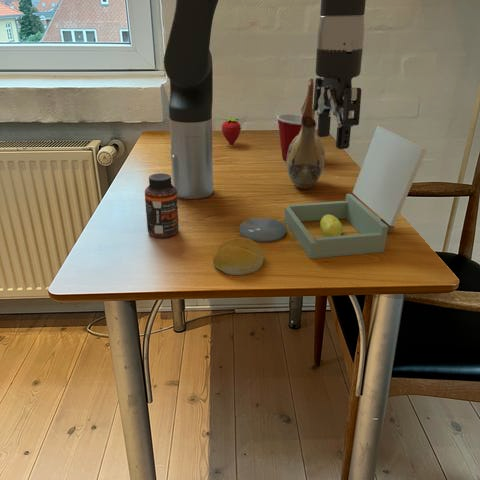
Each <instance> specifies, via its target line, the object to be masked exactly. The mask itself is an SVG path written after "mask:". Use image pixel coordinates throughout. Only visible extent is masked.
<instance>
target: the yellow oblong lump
mask: <svg viewBox="0 0 480 480" xmlns="http://www.w3.org/2000/svg"><path fill="white" fill-rule="evenodd" d="M319 226H320V231H321V232H322V233H323V237H330V236H342V233H343V231H344V226H343V224H342V222H341V220H339V219H337V218H336V217H335V216H333V215H329V214H328V215H325V216H324V217H323V218H322V219H321V220H320V225H319Z"/></svg>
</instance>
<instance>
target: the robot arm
mask: <svg viewBox="0 0 480 480" xmlns="http://www.w3.org/2000/svg"><path fill="white" fill-rule="evenodd" d="M366 1H367V0H321V1H320V12H319V23H318V29H317V37H316V40H317V41H316V54H315V55H316V57H315V58H316V59H315V75H316V76H317V77H316V78H315V81H314V91H313V109H314V111H315V112H316V116H317V117H318V118H317V133H316V136H318V137H319V138H326V137H329V136H330V134H331V133H330V132H331V120H332V119H331V117H332V116H331V115H333V116H335V119H336V123H337V127H336V136H335V137H336V138H335V148H336V149H337V150H346V149H349V147H350V144H351V143H350V141H351V130H352V127H354V126H359V125H360V116H361V114H360V113H361V101H362V88H361V87H352V86H353V85H352V84H353V83H352V80H353V78H358V77H359V76H360V74H361V69H362V60H363V49H364V39H365V11H366ZM218 4H219V0H176V1H175V8H174V10H175V11H174V14H173V20H172V23H171V28H170V30H169V31H170V33H169V36H168V41H167V43H166V46H165V47H166V48H165V52H164V56H163V67H164V72H165V74H166V76H167V78H168V79H169V85H170V86H169V87H170V88H169V90H170V95H169V102H168V103H169V104H168V116H169V117H168V118H169V133H170V134H169V135H170V161H171V163H170V165H171V166H170V167H171V176H172V177H171V184H172V185H173V186H174V187H175V188H176V190H177V198H182V199H188V200H196V199H198V200H199V199H203V198H207V197H209V196H212V194H213V193H214V170H213V169H214V167H213V166H214V165H213V164H214V163H213V162H214V161H213V158H214V157H213V156H214V155H213V103H214V102H213V101H214V100H213V99H214V98H213V95H214V94H213V91H214V90H213V88H214V87H213V81H214V79H213V78H214V77H213V74H214V73H213V57H212V52H211V50H210V45H211V43H210V42H211V36H212V26H213V22H214V14H215V12H216V8H217V6H218Z"/></svg>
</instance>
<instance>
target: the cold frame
mask: <svg viewBox="0 0 480 480" xmlns="http://www.w3.org/2000/svg"><path fill="white" fill-rule="evenodd" d="M359 200H360V199H359V198H357V197H355V195H354V194H353V193H346V195H345V200H337V201H323V202H310V203H309V202H307V203H295V204H294V203H293V204H289V206H286V207H285V206H284V215H283V216H284V217H283V221H284V223H285V224H286V226H287V228H288V230H290V232H291V234H292V235H293V236H294V238H295V239H296V241H297V242H298V244H299V245H300V247H301V248H302V250H303V251H304V252H305V254H306V255H307V256H308V258H309V259H311V260H312V259H321V258H332V257H342V256H344V257H345V256H354V255H365V254H375V253H385V246H386V242H387V237H388V233H387V231H388V226H387V225H386V224H385V223H383V222H382V221H381V218H379V216H377V214H374V213H373V211H371V209H370V208H369V207H368V206H366V205H364V203H363V202H362V201H361V200H360V201H359ZM328 214H329V215H333V216H335V217H336V218H337V219H338V220H339V219H345V220H347V221H348V222H349V223H350V225H351V226H352V227H354V229H355V230H356V231H357V232H358V233H355V234H345V235H342V234H341V236H330V237H325V236H320V237H315V238H314V237H313V236H312V235H311V233H310V232H309V230H308V229H307V227H305V226H304V224H303V223H302V222H312V221H313V222H314V221H321V219H322V218H323V217H324V216H325V215H328Z"/></svg>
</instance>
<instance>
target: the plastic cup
mask: <svg viewBox="0 0 480 480" xmlns="http://www.w3.org/2000/svg"><path fill="white" fill-rule="evenodd" d="M276 119H277V125H278V130H279V131H278V132H279V133H278V134H279V139H280V140H279V143H280V150H281V157H282V160H283V161H285V162H286V159H287V152H288V149H289V146H290V144H291V142H292V140H293V139H294V138H295V137H296V136H297V135H298V134H299V132H300V130H301V119H302V114H295V113H281V114H278V115H277V116H276ZM314 120H315V121H316V122H317V120H316V119H314Z"/></svg>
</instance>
